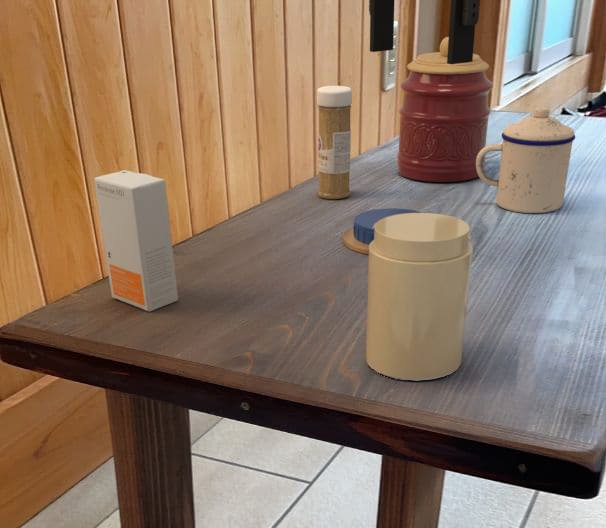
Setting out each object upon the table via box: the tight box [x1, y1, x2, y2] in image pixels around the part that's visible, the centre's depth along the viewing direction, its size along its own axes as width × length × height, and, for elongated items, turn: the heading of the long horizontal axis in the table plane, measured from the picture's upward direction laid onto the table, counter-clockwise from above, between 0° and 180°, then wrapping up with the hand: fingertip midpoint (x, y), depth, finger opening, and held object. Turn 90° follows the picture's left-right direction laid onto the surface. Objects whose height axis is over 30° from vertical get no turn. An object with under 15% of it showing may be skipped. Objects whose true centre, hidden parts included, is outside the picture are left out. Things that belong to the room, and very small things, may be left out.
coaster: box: [342, 226, 369, 256], centre depth 102 cm, size 12×12×1 cm
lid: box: [353, 207, 422, 245], centre depth 101 cm, size 9×9×2 cm
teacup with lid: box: [476, 106, 576, 214], centre depth 110 cm, size 12×9×12 cm
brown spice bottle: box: [316, 85, 353, 200], centre depth 114 cm, size 5×5×14 cm
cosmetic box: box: [93, 169, 179, 313], centre depth 84 cm, size 6×4×12 cm
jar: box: [365, 212, 474, 379], centre depth 72 cm, size 8×8×12 cm
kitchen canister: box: [396, 36, 494, 183], centre depth 122 cm, size 13×13×18 cm
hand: (418, 56), depth 91 cm, fingers open, 13 cm apart
